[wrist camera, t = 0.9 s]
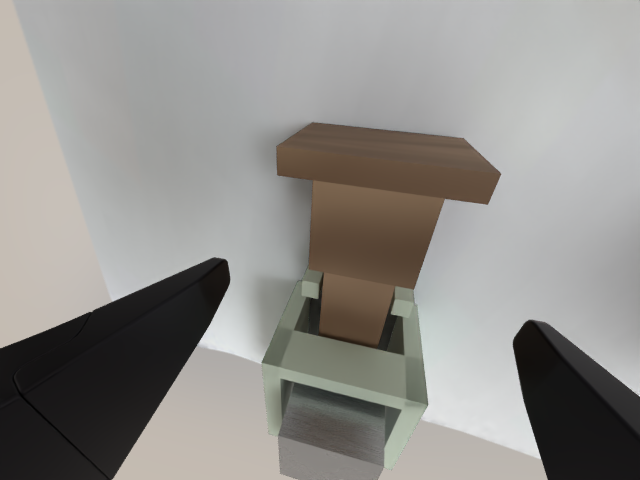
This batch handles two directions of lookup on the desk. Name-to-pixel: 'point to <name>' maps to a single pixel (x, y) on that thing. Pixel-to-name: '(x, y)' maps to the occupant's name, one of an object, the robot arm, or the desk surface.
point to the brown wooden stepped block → (376, 213)
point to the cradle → (349, 365)
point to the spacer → (331, 436)
